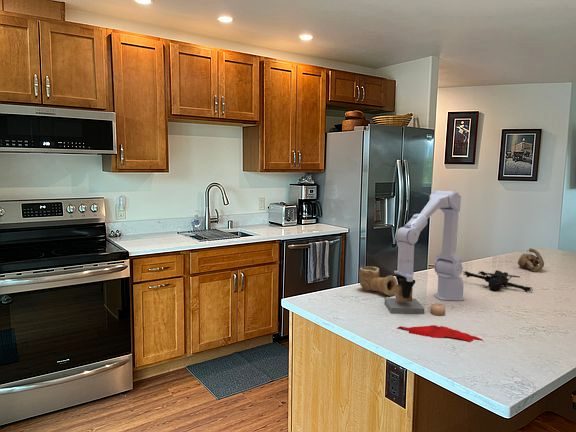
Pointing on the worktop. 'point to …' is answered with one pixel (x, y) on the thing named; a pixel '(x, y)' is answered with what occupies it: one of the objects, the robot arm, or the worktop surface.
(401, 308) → the slate base
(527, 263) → the tan lumpy piece
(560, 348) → the worktop surface
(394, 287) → the pipe
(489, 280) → the toy
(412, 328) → the cloth
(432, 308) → the terracotta puck
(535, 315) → the worktop surface
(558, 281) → the worktop surface
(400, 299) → the walnut cube
